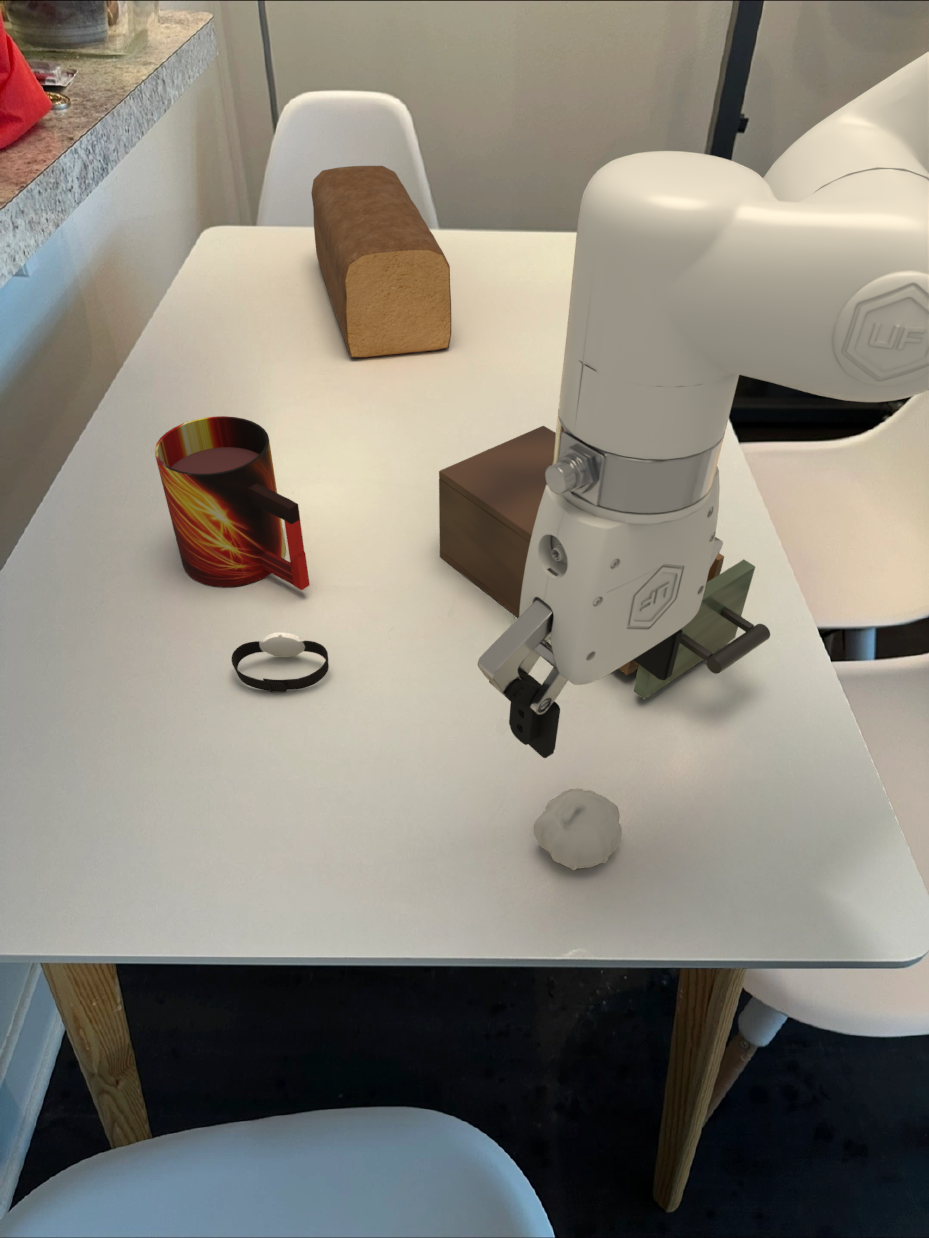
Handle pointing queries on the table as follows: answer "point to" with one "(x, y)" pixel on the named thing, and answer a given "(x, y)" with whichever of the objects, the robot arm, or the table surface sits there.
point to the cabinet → (495, 512)
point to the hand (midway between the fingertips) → (592, 701)
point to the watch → (281, 647)
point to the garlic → (579, 828)
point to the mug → (229, 504)
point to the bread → (380, 263)
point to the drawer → (711, 628)
